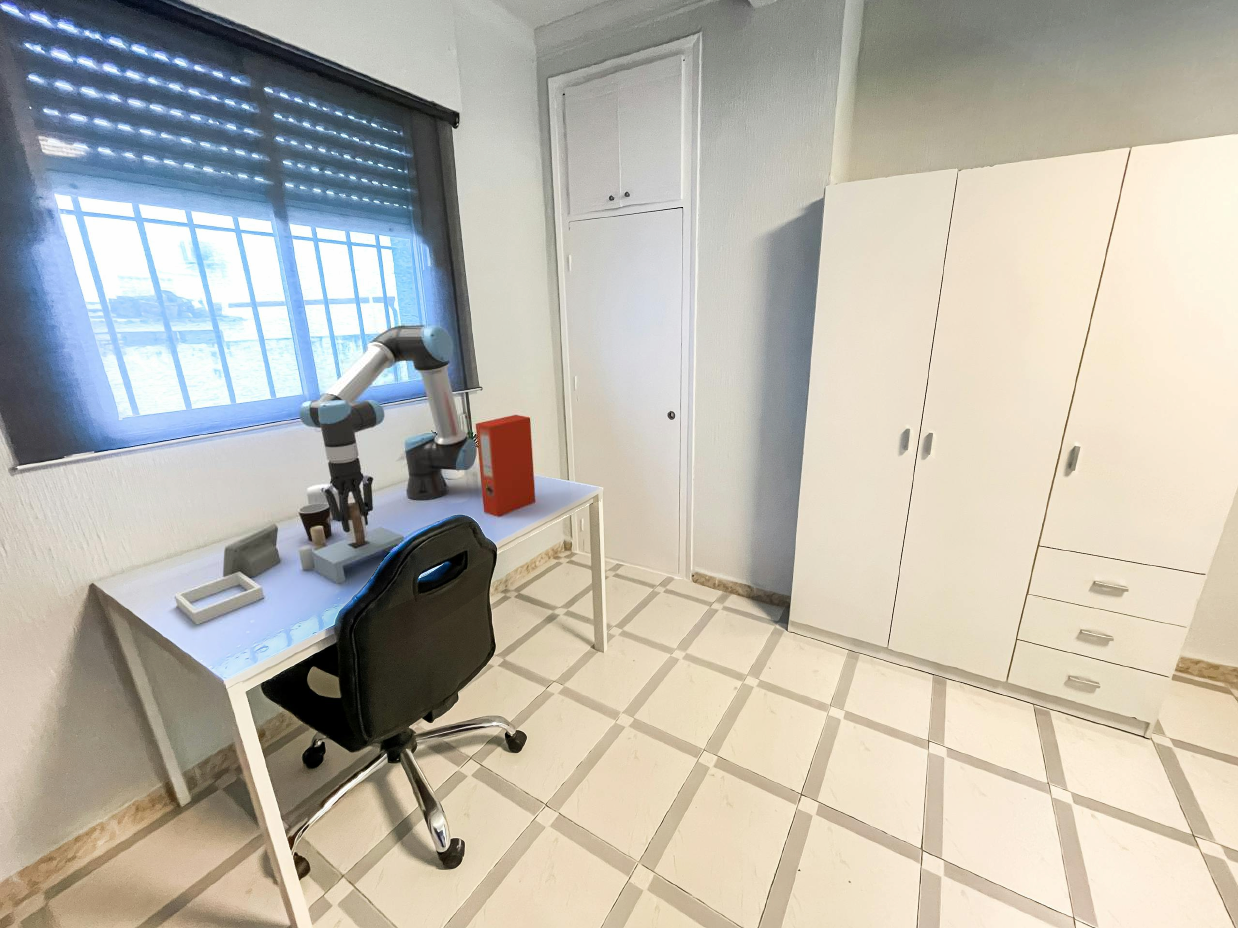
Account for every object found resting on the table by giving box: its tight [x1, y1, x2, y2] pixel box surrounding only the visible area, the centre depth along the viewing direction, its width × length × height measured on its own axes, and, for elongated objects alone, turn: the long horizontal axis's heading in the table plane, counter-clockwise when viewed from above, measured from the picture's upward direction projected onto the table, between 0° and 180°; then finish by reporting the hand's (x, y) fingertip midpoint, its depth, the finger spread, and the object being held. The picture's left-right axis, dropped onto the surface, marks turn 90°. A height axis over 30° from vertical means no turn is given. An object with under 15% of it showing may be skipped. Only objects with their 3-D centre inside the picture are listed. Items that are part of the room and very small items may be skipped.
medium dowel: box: [310, 526, 328, 551], centre depth 150 cm, size 3×3×9 cm
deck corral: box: [173, 572, 265, 625], centre depth 129 cm, size 14×14×3 cm
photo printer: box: [306, 483, 340, 520], centre depth 177 cm, size 10×4×12 cm, turn 98°
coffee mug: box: [297, 503, 332, 542], centre depth 164 cm, size 12×9×10 cm
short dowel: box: [297, 545, 315, 571], centre depth 144 cm, size 3×3×6 cm
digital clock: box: [222, 523, 281, 578], centre depth 144 cm, size 16×9×11 cm, turn 157°
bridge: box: [312, 526, 405, 585], centre depth 146 cm, size 20×12×6 cm, turn 144°
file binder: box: [475, 414, 536, 517], centre depth 181 cm, size 8×17×32 cm, turn 141°
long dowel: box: [348, 501, 366, 549], centre depth 144 cm, size 3×3×15 cm
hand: (358, 538), depth 145 cm, fingers closed on long dowel, 3 cm apart
